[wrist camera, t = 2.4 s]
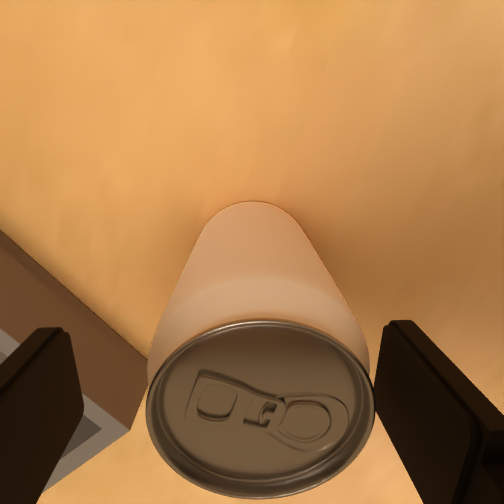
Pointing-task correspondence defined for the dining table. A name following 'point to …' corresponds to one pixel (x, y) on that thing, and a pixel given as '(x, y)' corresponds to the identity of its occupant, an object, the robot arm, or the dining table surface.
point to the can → (258, 363)
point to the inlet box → (85, 352)
